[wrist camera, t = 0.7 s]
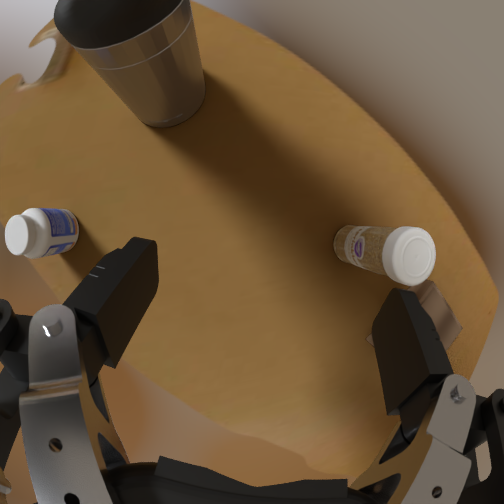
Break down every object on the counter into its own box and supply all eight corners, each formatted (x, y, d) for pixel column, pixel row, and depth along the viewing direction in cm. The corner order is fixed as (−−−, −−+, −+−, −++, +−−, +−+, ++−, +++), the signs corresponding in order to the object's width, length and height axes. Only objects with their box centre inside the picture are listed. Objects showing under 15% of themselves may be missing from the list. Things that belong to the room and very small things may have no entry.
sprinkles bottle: (329, 228, 31) (390, 232, 18) (363, 221, 32) (434, 222, 18) (335, 267, 32) (396, 294, 18) (368, 258, 32) (439, 278, 19)
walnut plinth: (365, 339, 33) (379, 351, 29) (417, 276, 33) (435, 282, 29) (403, 376, 34) (416, 388, 30) (448, 321, 34) (464, 329, 30)
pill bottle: (55, 204, 29) (6, 200, 19) (85, 216, 29) (37, 215, 20) (45, 244, 29) (-3, 251, 19) (74, 258, 30) (27, 270, 20)
